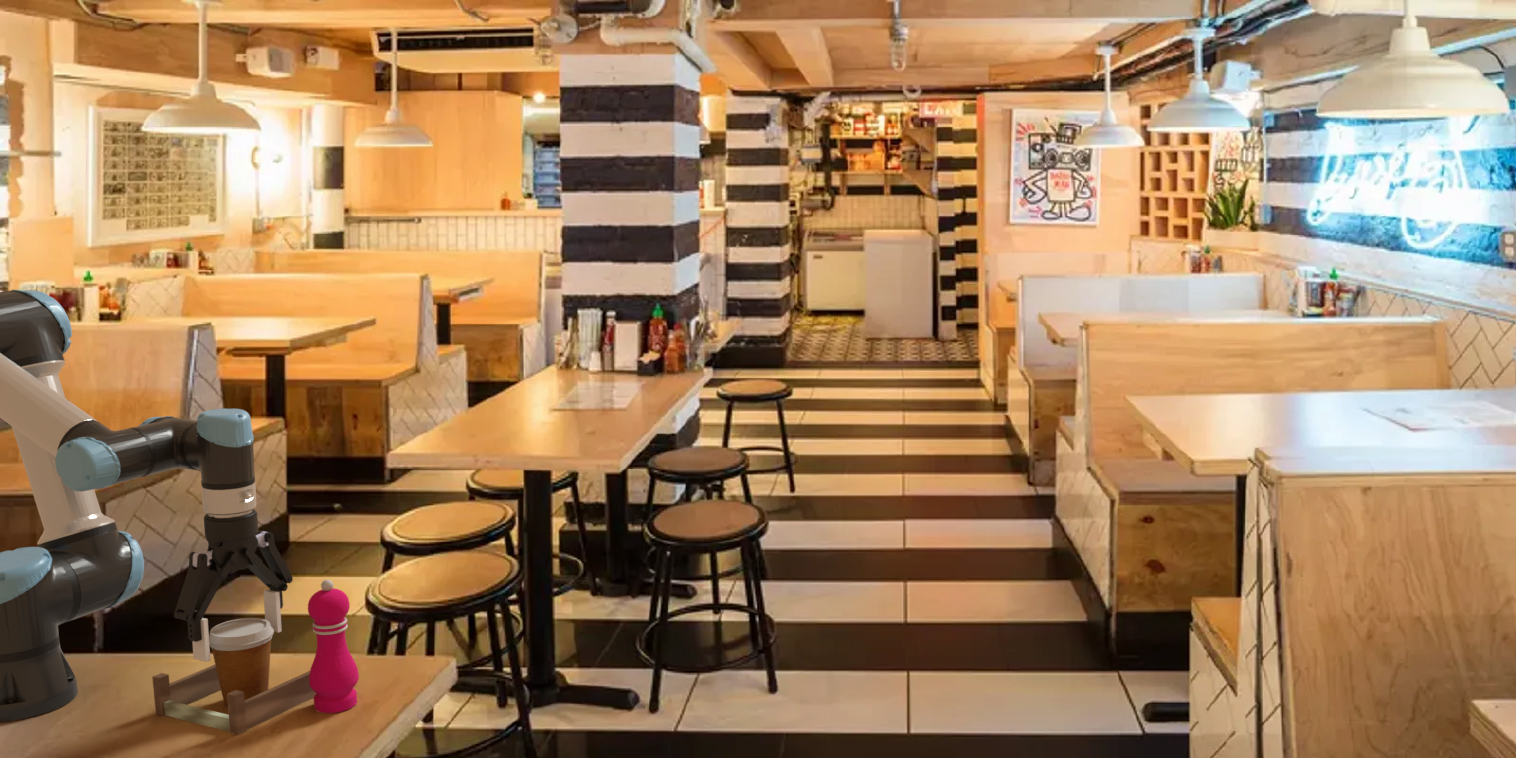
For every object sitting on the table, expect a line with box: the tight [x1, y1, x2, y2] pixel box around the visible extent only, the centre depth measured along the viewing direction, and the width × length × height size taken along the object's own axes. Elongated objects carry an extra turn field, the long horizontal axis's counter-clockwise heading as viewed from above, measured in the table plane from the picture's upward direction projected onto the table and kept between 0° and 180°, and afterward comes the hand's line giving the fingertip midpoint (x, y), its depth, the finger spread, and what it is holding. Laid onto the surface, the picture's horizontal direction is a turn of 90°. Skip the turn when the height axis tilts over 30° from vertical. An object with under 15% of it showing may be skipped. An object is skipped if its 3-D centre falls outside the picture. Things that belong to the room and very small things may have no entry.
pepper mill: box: [307, 579, 360, 714], centre depth 192 cm, size 7×7×20 cm
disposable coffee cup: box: [209, 617, 275, 709], centre depth 195 cm, size 10×10×12 cm
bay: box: [151, 664, 317, 736], centre depth 196 cm, size 18×20×6 cm
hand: (238, 644), depth 194 cm, fingers open, 13 cm apart
